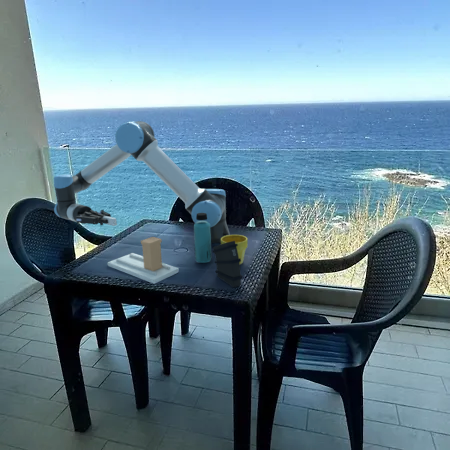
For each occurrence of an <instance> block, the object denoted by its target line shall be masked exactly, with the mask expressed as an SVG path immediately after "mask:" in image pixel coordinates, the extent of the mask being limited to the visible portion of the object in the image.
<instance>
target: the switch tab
mask: <svg viewBox="0 0 450 450" xmlns="http://www.w3.org/2000/svg"><path fill="white" fill-rule="evenodd" d="M162 241H163V240H162V238H159V237H155V236H151V237H148V238H145V239H141V240H140V244H141V247H142V256H143V260H144V268H145V269H148V270H151V271H155V270H157V269H160V268H162V263H163V261H162V259H163V258H162V247H161V244H162Z"/></svg>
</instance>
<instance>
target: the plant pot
mask: <svg viewBox="0 0 450 450" xmlns="http://www.w3.org/2000/svg"><path fill="white" fill-rule="evenodd" d="M248 239H249V238H248V237H247V236H245V235H242V234H230V235H227V236H224V237H222V238H221V242H220V245H221V244H224V243H227V242H231V241H235V244H238V246H236V247H237V251H238V257H239V258H240V259H241V262H239V263H240V265H242V264H243V263H244V259H245V253H246V250H247V248H248V246H249V245H248Z"/></svg>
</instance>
